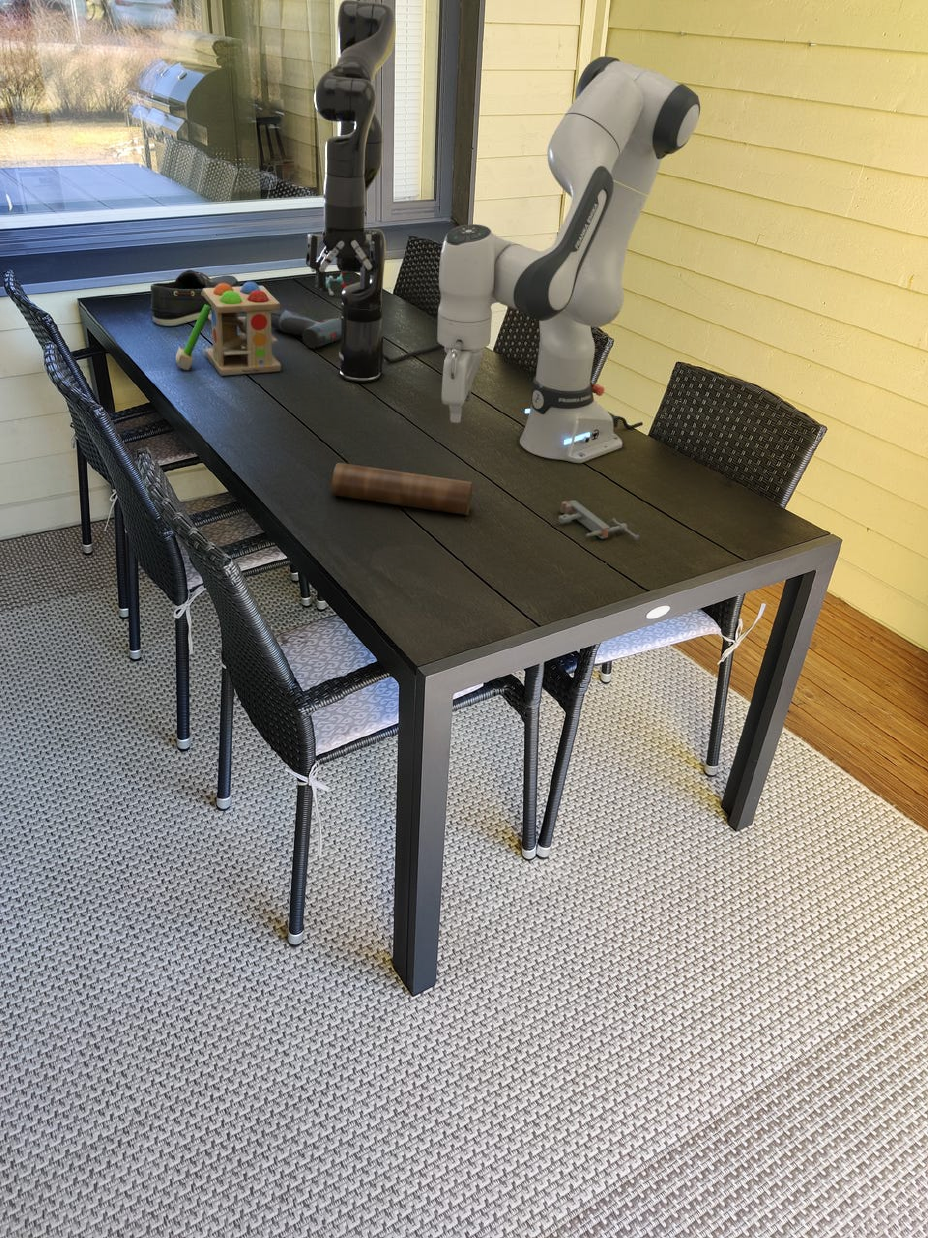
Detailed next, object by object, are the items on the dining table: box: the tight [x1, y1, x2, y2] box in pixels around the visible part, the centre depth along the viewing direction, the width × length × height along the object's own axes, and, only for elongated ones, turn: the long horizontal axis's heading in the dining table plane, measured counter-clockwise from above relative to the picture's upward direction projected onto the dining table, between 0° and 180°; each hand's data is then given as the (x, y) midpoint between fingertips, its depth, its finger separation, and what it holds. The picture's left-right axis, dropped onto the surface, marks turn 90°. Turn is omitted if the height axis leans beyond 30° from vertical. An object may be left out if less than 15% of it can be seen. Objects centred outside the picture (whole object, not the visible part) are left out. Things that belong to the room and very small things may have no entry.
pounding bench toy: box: [174, 281, 282, 377], centre depth 225 cm, size 23×14×18 cm, turn 116°
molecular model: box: [310, 268, 348, 297], centre depth 283 cm, size 12×10×10 cm
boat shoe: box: [149, 269, 241, 327], centre depth 259 cm, size 13×33×10 cm, turn 147°
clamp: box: [558, 499, 640, 541], centre depth 178 cm, size 15×2×10 cm
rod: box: [331, 462, 474, 516], centre depth 179 cm, size 25×6×6 cm, turn 81°
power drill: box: [271, 308, 341, 349], centre depth 252 cm, size 5×19×20 cm
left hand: (343, 289), depth 189 cm, fingers open, 8 cm apart
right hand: (460, 410), depth 169 cm, fingers open, 8 cm apart
